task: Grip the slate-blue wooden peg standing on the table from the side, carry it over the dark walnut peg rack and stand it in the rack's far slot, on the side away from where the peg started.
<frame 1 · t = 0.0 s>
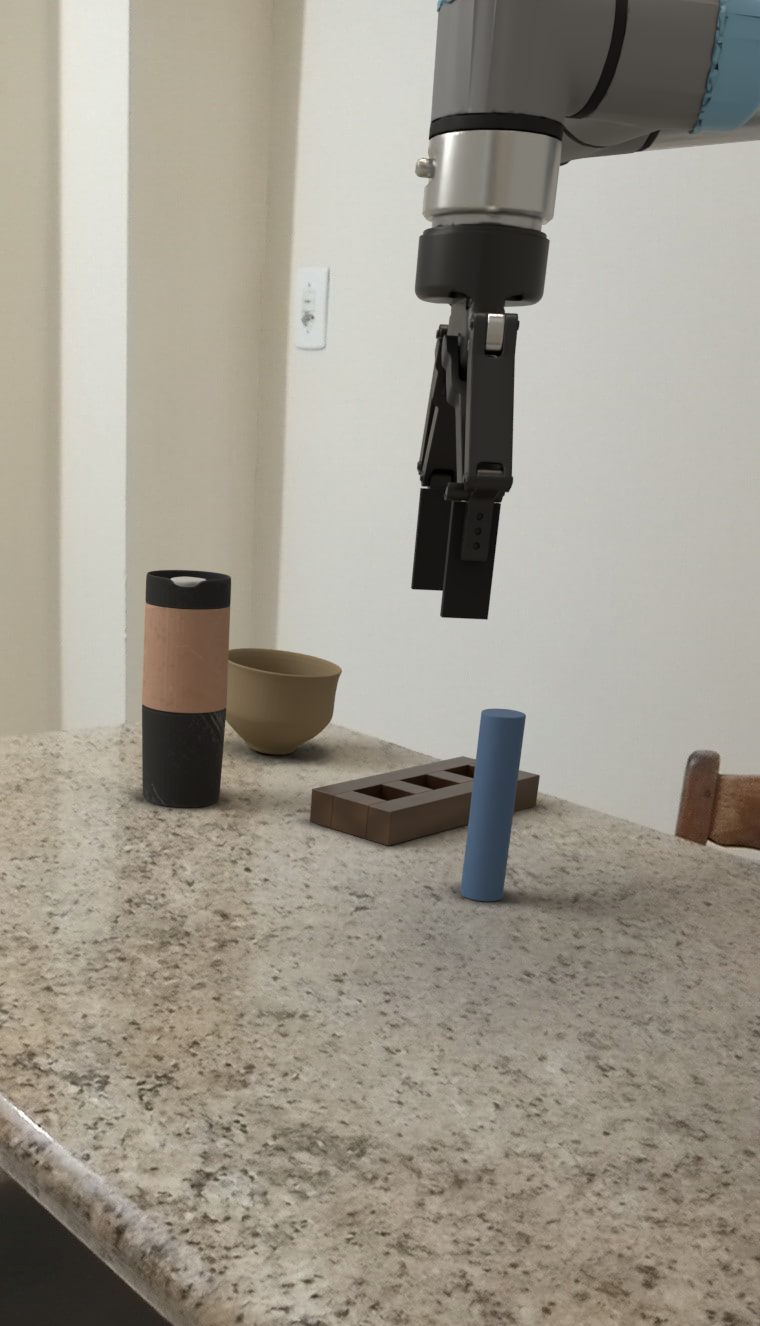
hand: (446, 603, 88), 23 cm above the table, tool pointing down, fingers open, 13 cm apart
bowl: (275, 753, 146), on the table
rack: (426, 813, 126), on the table
peg: (481, 894, 105), on the table
travel mug: (180, 799, 127), on the table
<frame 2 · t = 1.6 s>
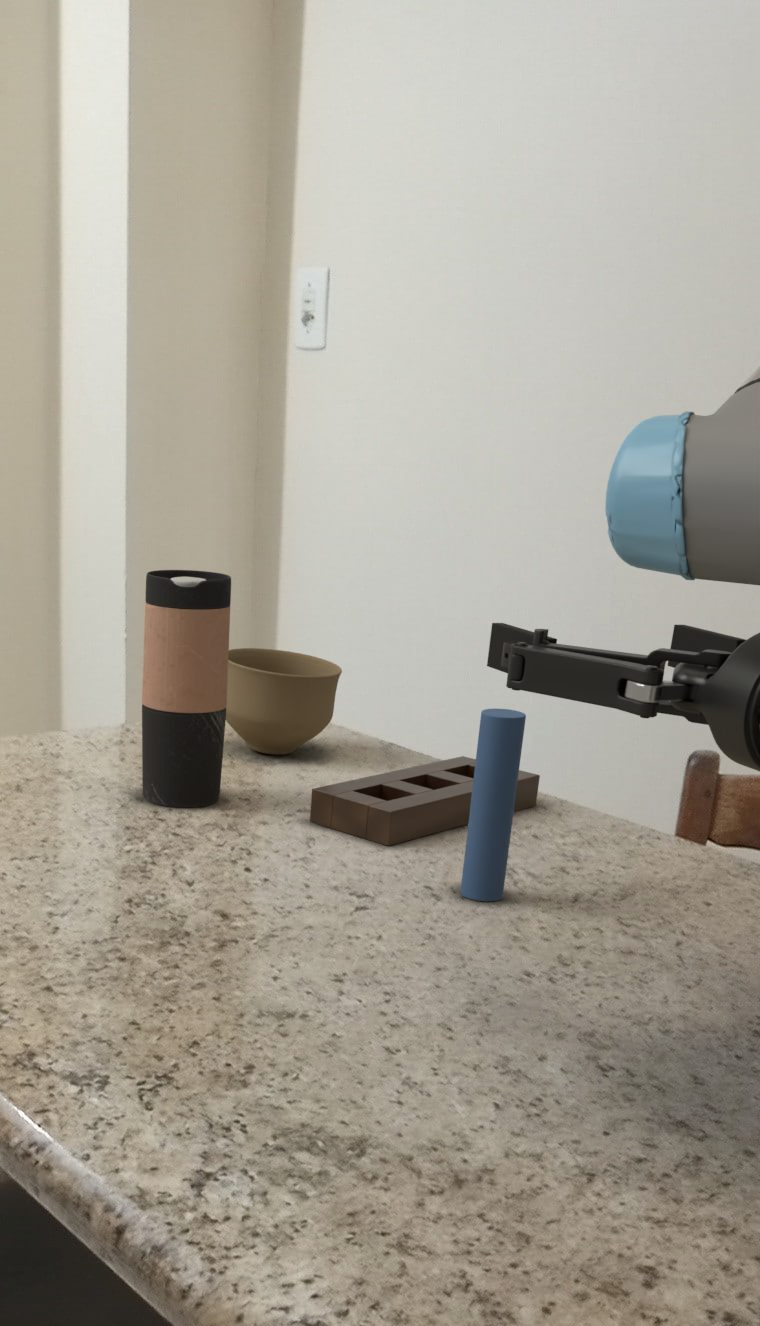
hand: (586, 644, 89), 20 cm above the table, tool horizontal, fingers open, 13 cm apart
nothing on the table moved.
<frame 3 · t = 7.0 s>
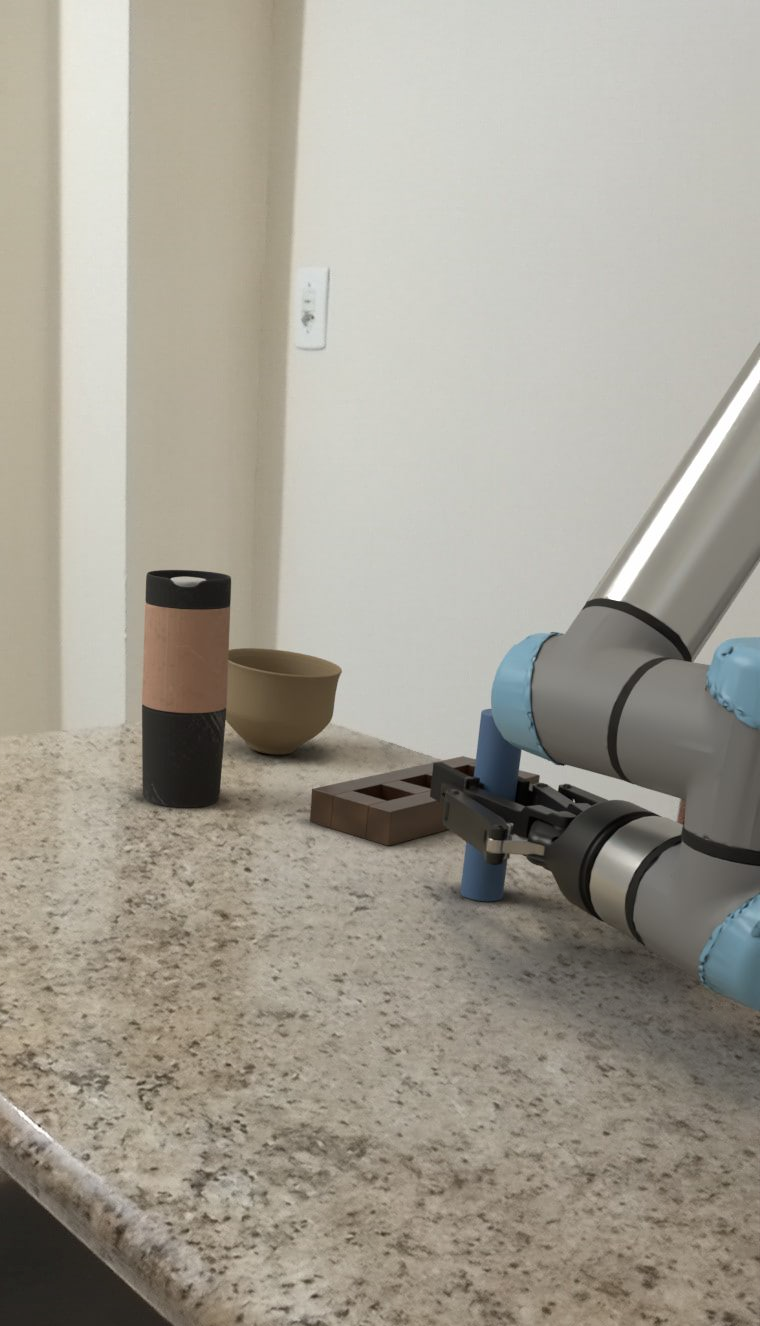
hand: (458, 778, 107), 8 cm above the table, tool horizontal, fingers closed on peg, 3 cm apart
peg: (481, 894, 105), on the table, touching gripper
everything else where it was.
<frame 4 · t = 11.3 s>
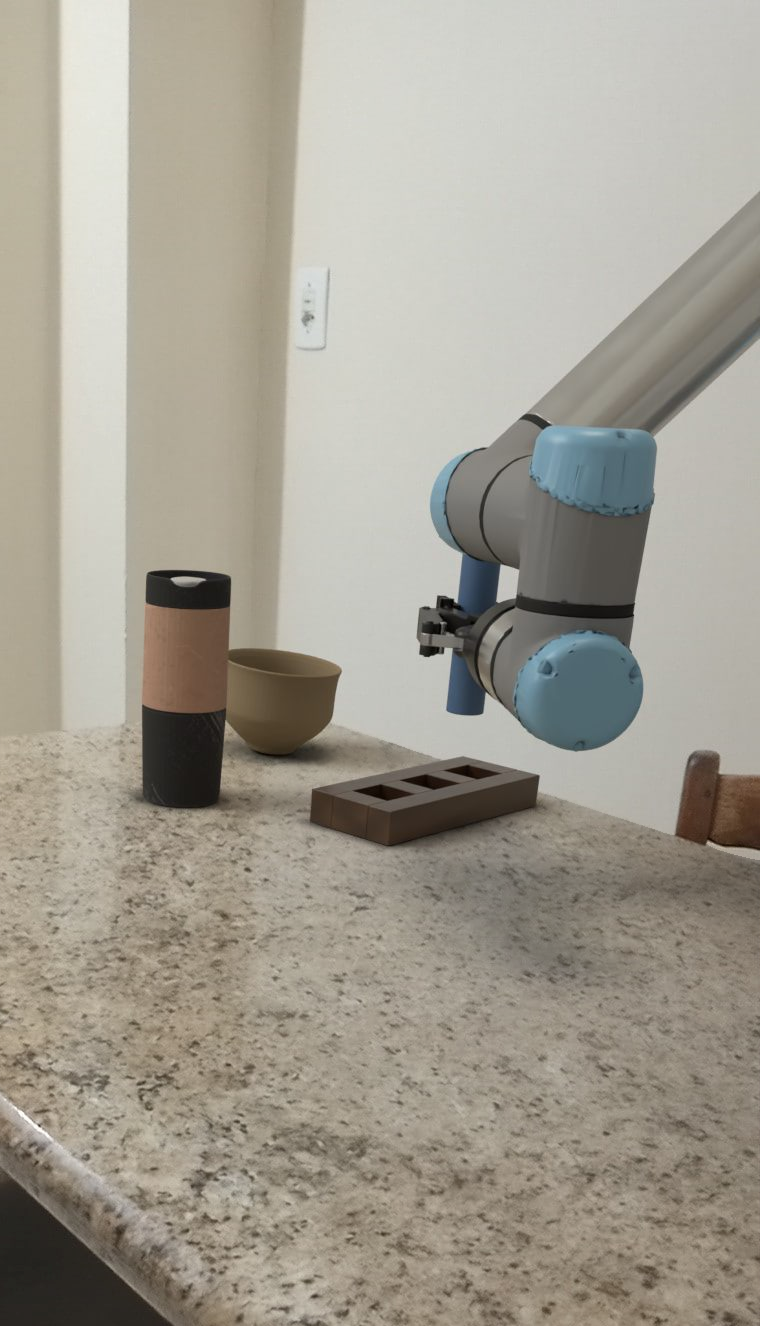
hand: (461, 612, 121), 18 cm above the table, tool horizontal, fingers closed on peg, 3 cm apart
peg: (464, 711, 119), point 10 cm above the table, touching gripper
everything else where it was.
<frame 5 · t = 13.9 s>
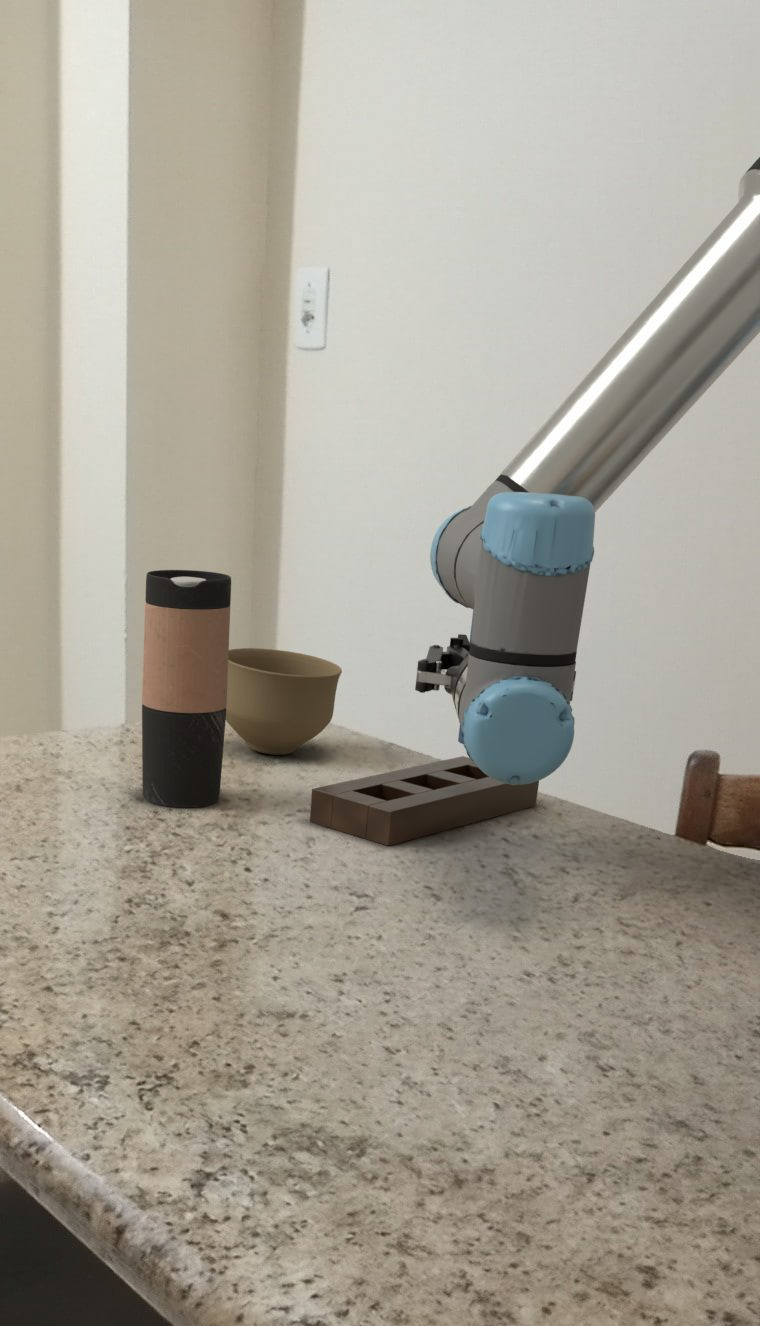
hand: (481, 650, 130), 13 cm above the table, tool horizontal, fingers closed on peg, 3 cm apart
peg: (475, 742, 128), point 6 cm above the table, touching gripper
everything else where it was.
when the fingers open (8 cm above the table, at t = 15.8 s): peg stays where it is, resting in rack.
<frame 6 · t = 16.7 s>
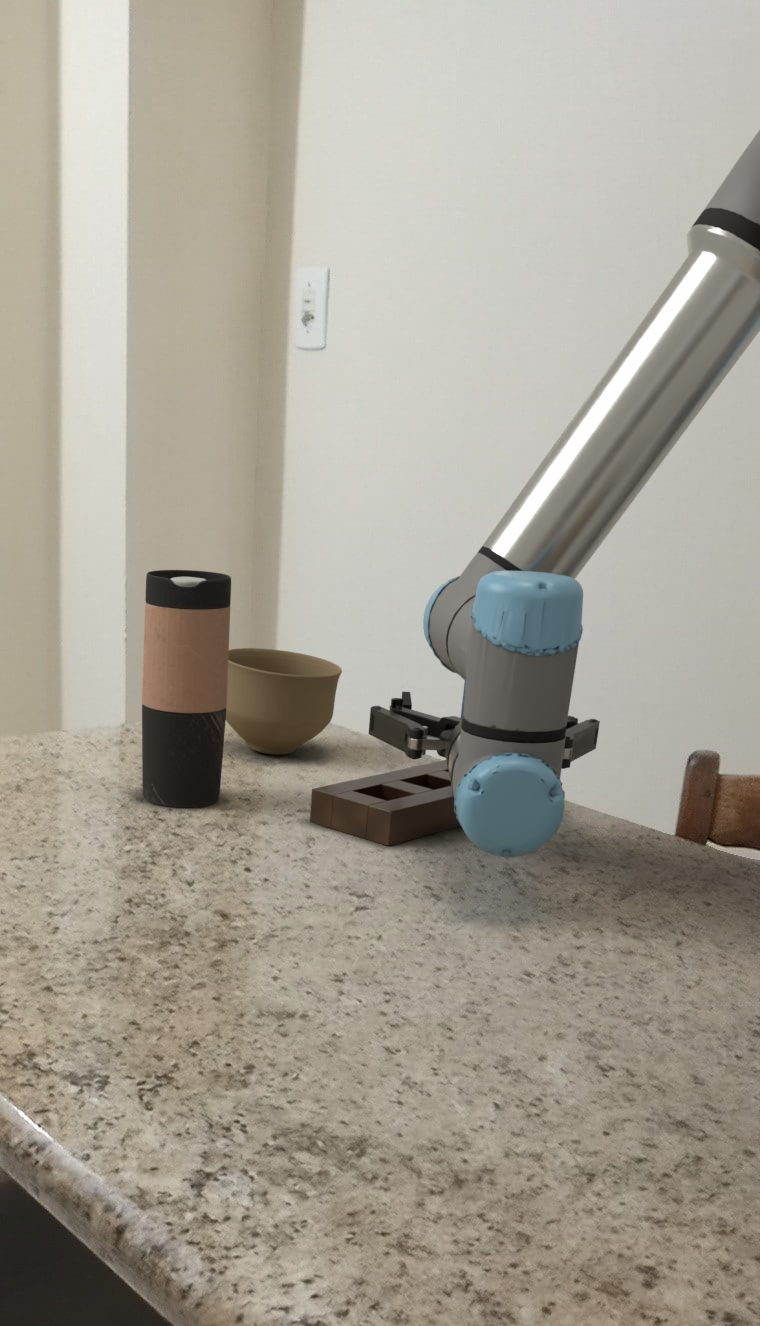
hand: (476, 710, 130), 8 cm above the table, tool horizontal, fingers open, 13 cm apart
peg: (468, 802, 130), resting in rack
everything else where it was.
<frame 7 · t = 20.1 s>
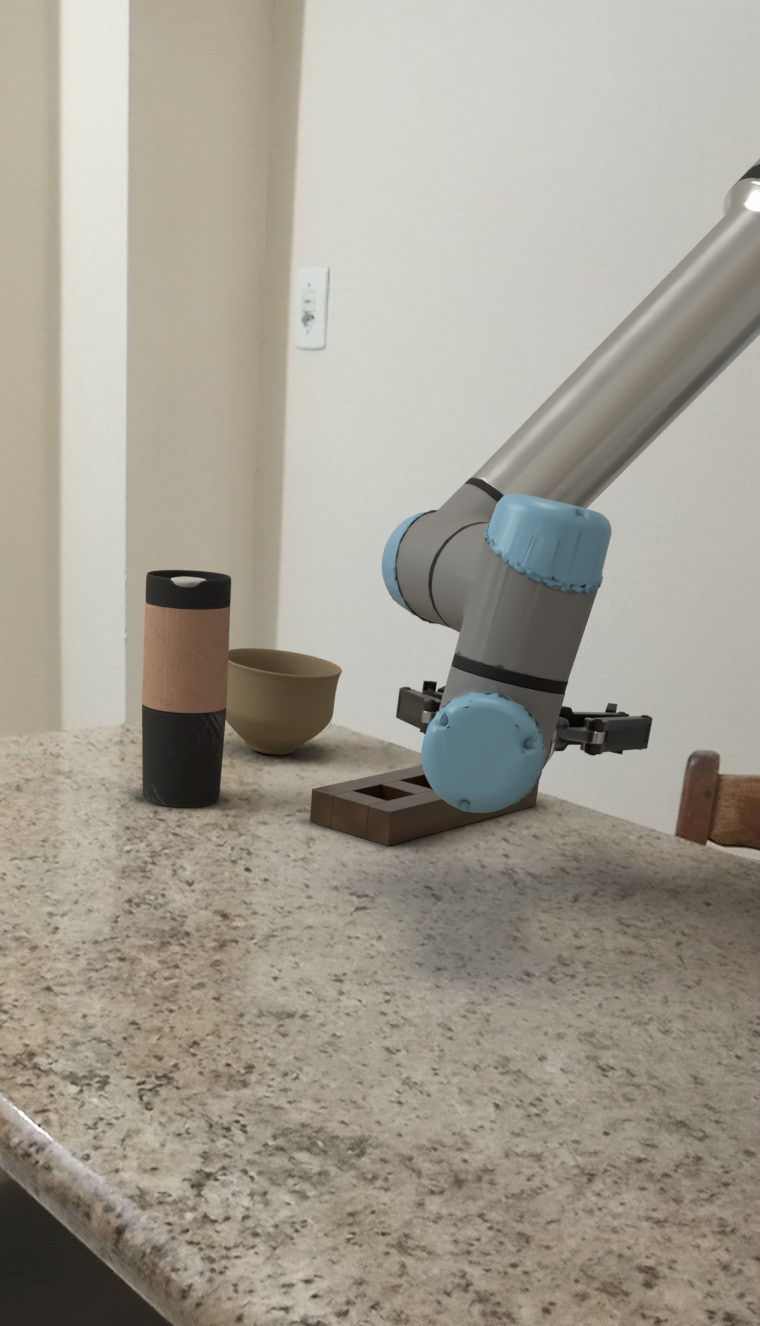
hand: (529, 709, 118), 11 cm above the table, tool horizontal, fingers open, 13 cm apart
nothing on the table moved.
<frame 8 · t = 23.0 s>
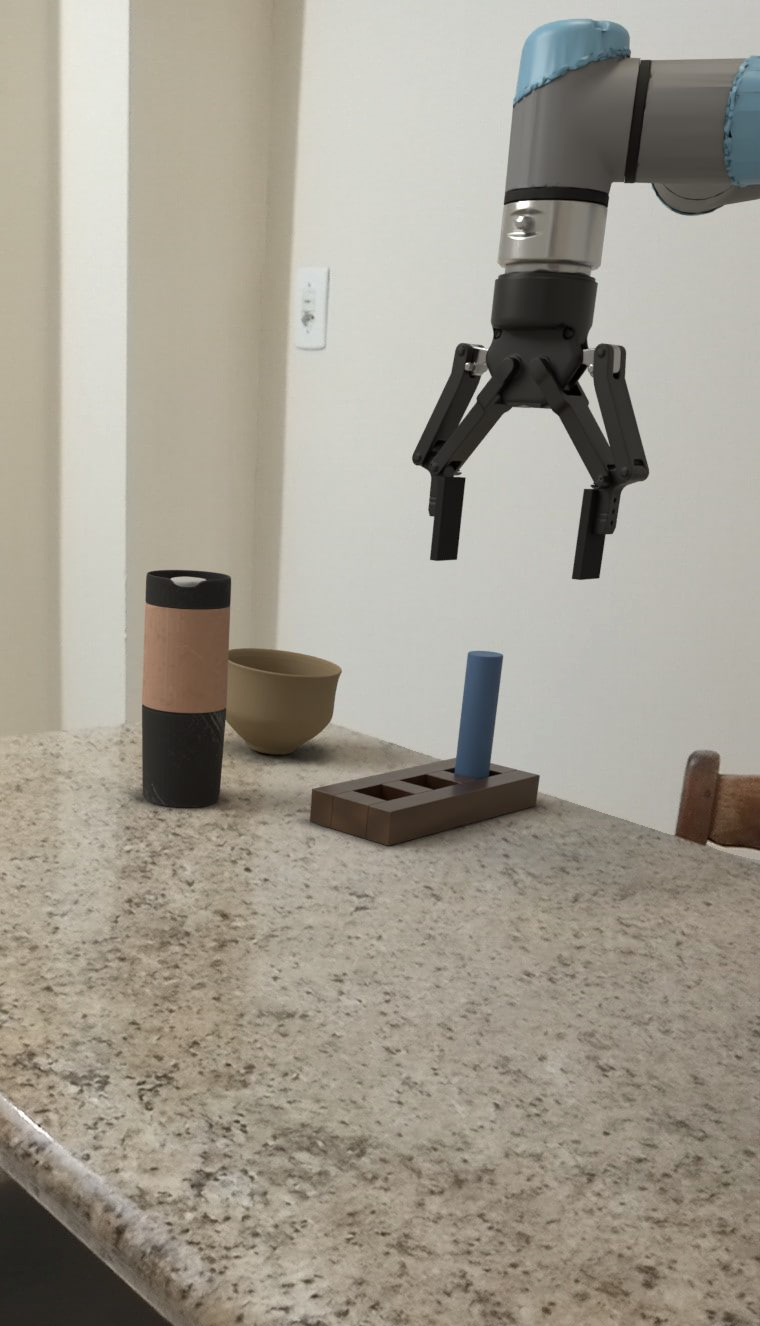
hand: (511, 569, 110), 23 cm above the table, tool pointing down, fingers open, 13 cm apart
nothing on the table moved.
at the end: peg 0.1 cm from the target spot in the rack, point 0.0 cm above the rack's base; peg tilted 0°; the gripper is holding nothing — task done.
